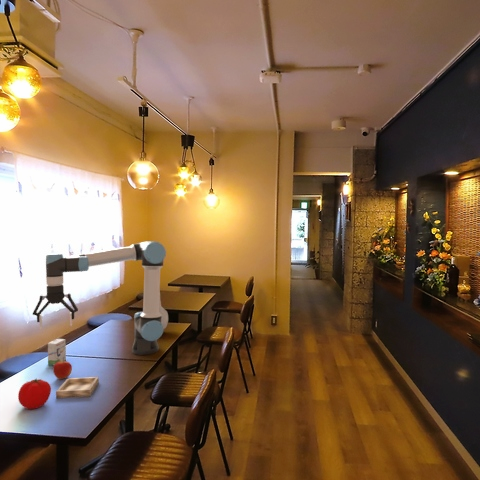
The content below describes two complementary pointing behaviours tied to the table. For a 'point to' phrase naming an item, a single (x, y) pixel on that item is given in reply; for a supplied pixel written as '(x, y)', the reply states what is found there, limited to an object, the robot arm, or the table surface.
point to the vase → (163, 315)
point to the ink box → (56, 351)
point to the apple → (62, 369)
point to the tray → (77, 387)
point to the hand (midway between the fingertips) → (56, 327)
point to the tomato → (34, 393)
